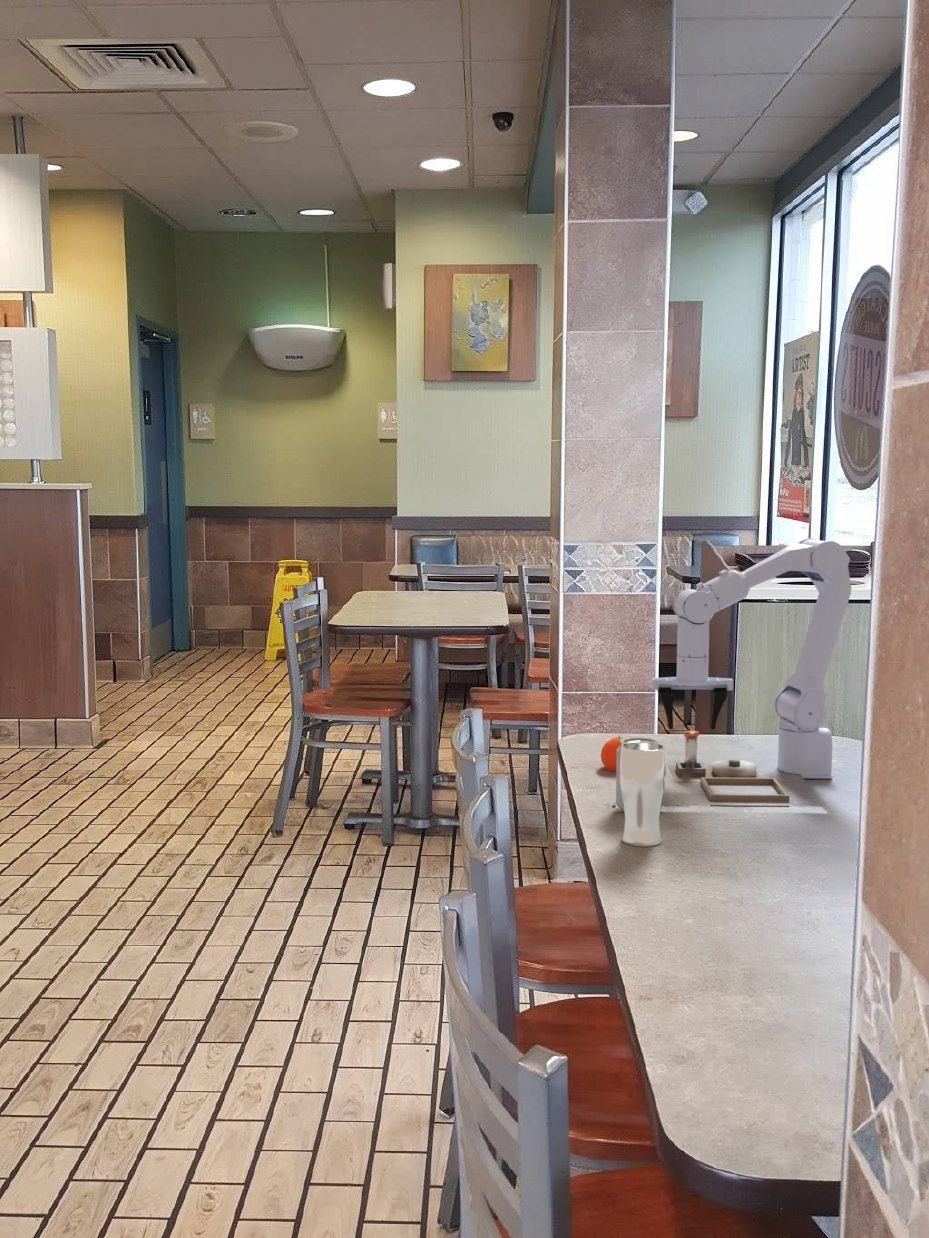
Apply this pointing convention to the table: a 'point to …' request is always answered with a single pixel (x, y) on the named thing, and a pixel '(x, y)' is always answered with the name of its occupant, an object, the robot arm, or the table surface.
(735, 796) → the tray
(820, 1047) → the table surface
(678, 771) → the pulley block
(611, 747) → the clementine
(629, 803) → the beer glass
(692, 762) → the lock pin
